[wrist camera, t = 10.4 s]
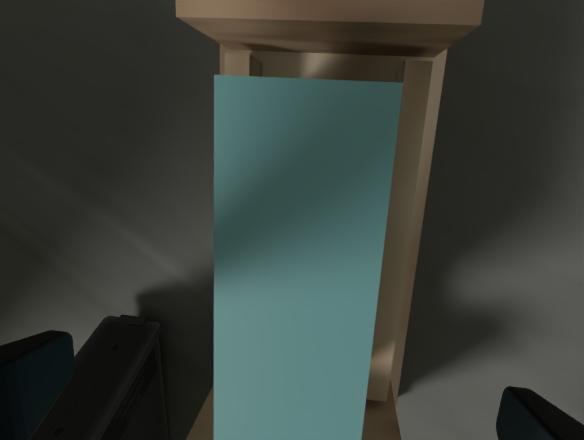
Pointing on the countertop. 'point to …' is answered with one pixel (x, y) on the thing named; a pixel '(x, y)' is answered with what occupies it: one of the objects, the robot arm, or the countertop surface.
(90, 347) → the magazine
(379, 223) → the teal book
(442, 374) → the countertop surface
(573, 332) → the countertop surface
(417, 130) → the book rack
